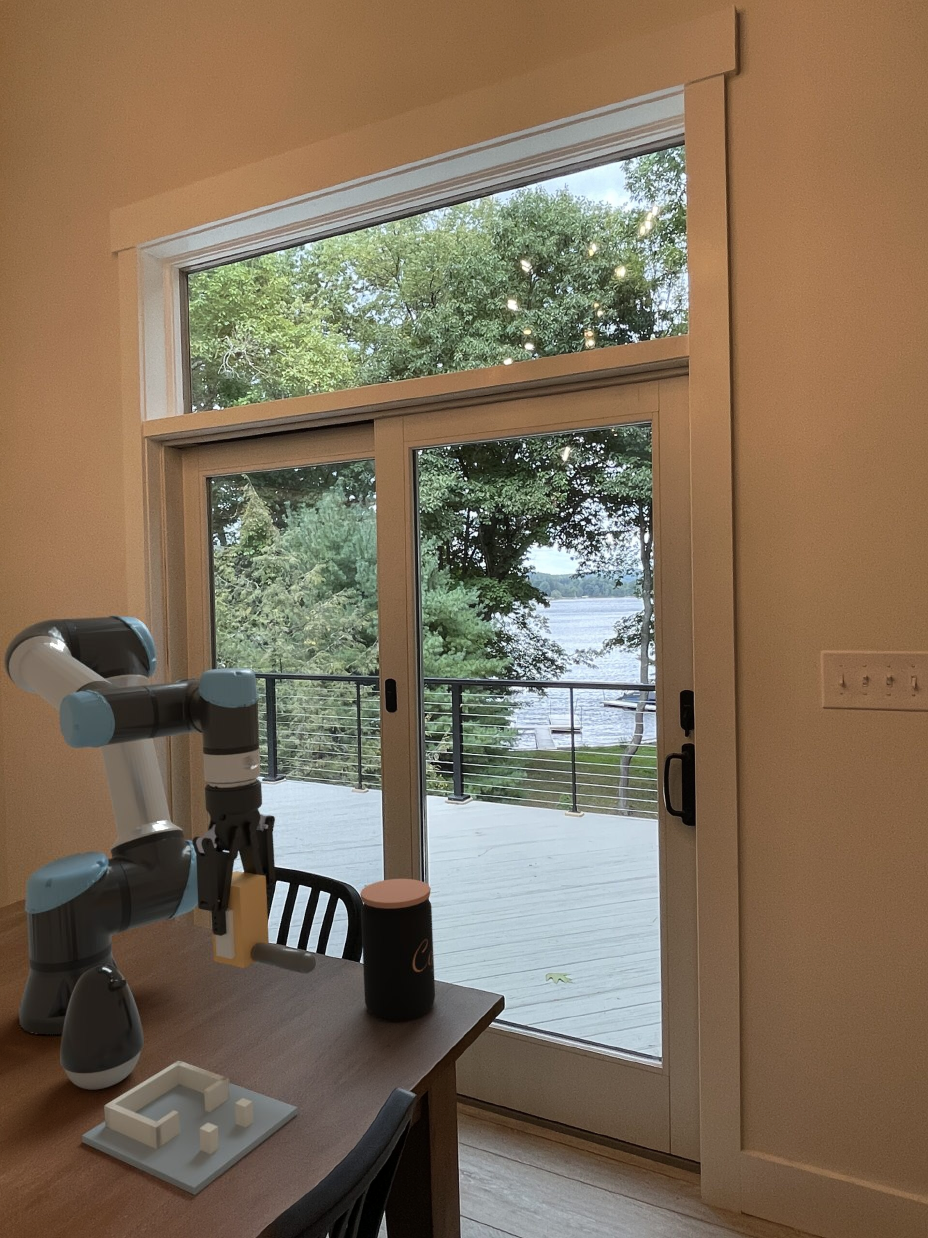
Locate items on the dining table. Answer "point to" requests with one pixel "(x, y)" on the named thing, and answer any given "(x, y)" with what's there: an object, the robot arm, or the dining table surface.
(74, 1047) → the dark grey egg shape
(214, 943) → the plug
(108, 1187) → the dining table surface
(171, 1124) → the board
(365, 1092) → the dining table surface
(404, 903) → the coffee jar
